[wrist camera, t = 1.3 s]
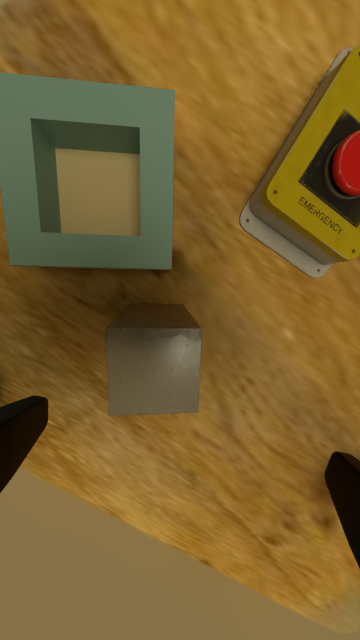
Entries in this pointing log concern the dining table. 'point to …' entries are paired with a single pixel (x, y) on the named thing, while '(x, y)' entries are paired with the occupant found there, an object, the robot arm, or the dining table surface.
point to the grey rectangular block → (153, 360)
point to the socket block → (86, 173)
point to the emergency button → (315, 178)
